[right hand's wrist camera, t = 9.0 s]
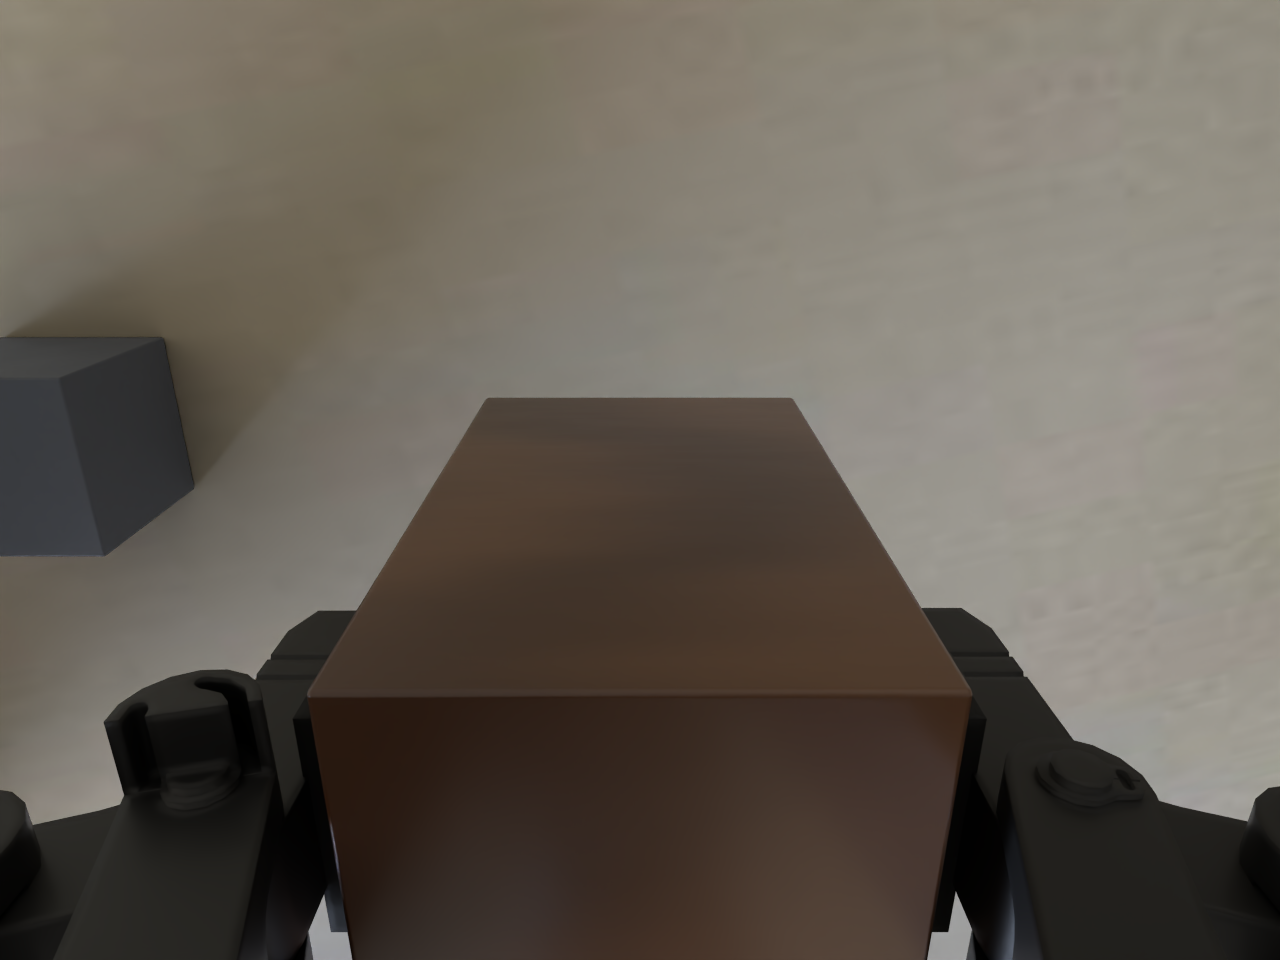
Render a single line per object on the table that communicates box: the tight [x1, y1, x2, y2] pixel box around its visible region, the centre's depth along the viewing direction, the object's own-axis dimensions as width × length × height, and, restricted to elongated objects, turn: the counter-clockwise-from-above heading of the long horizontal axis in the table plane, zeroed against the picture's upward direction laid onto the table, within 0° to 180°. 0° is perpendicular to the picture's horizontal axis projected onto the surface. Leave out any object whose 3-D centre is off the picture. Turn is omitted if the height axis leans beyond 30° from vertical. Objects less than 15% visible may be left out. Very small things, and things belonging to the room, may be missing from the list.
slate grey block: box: [0, 337, 194, 556], centre depth 24 cm, size 5×5×5 cm
